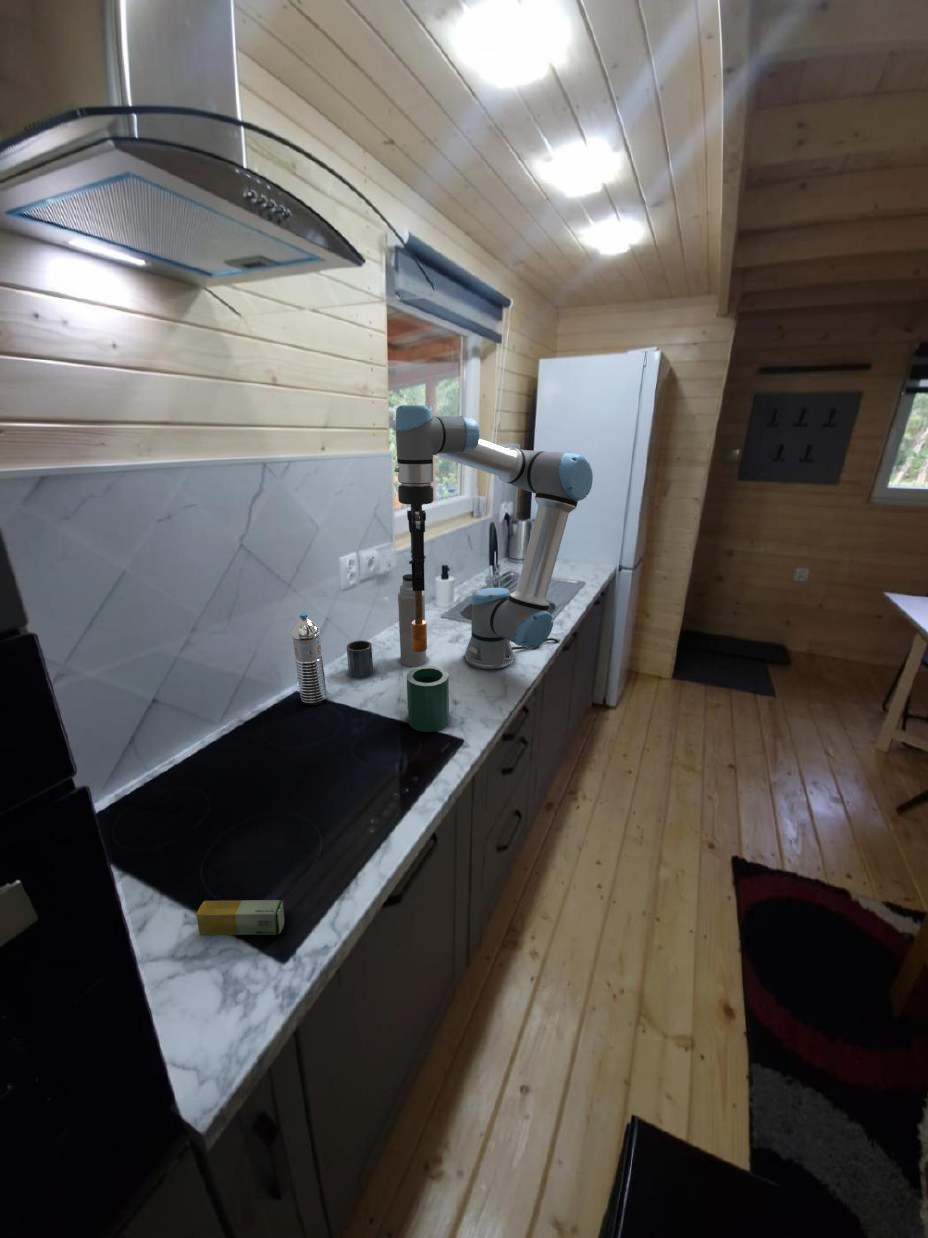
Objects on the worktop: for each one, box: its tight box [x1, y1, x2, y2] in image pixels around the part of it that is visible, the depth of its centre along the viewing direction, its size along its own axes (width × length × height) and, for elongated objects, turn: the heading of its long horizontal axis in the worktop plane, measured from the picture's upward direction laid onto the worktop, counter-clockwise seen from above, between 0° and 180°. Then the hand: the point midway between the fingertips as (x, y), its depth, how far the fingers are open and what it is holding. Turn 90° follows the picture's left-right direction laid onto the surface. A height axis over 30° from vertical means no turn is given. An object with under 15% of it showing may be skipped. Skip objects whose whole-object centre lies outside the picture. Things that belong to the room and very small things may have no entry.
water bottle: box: [291, 612, 328, 707], centre depth 129 cm, size 7×7×25 cm
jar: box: [405, 665, 450, 733], centre depth 123 cm, size 10×10×13 cm
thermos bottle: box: [397, 573, 427, 667], centre depth 151 cm, size 8×8×28 cm
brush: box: [411, 591, 428, 652], centre depth 115 cm, size 4×4×25 cm
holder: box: [346, 640, 374, 679], centre depth 147 cm, size 7×7×9 cm
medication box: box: [195, 899, 286, 936], centre depth 74 cm, size 12×3×4 cm, turn 92°
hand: (418, 588), depth 114 cm, fingers closed on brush, 2 cm apart
